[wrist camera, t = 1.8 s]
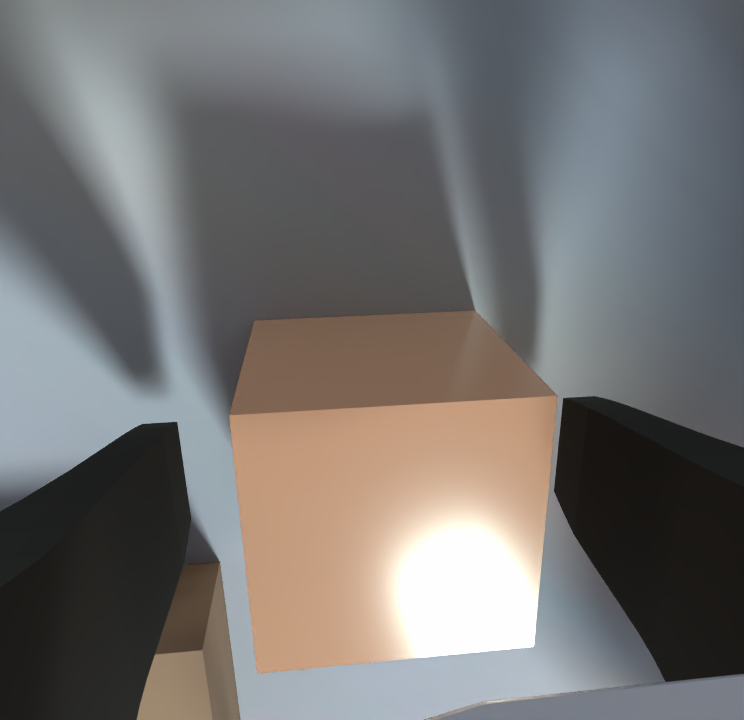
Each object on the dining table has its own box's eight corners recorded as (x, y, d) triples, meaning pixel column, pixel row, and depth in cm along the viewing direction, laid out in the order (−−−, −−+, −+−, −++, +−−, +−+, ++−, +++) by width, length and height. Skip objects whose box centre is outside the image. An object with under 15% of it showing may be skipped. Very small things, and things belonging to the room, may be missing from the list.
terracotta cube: (474, 309, 13) (557, 395, 9) (466, 496, 14) (533, 646, 10) (254, 319, 12) (228, 415, 8) (271, 510, 14) (257, 673, 10)
